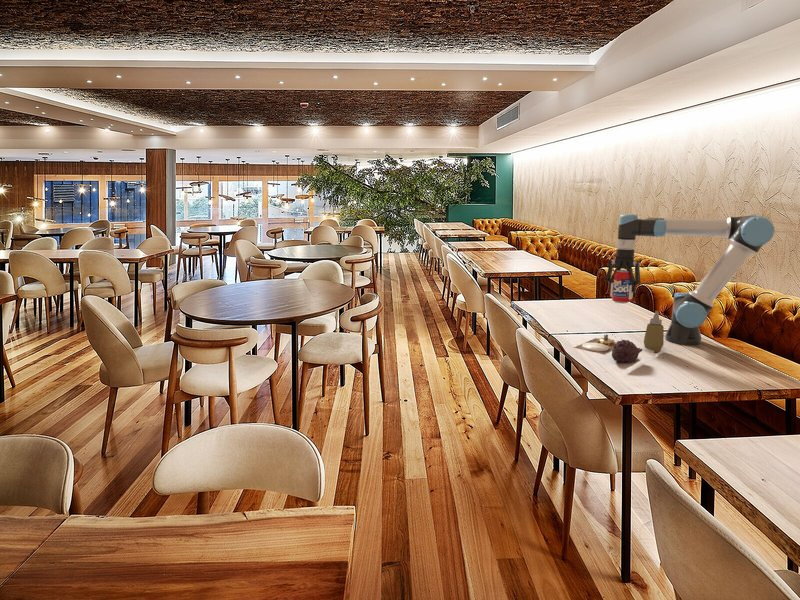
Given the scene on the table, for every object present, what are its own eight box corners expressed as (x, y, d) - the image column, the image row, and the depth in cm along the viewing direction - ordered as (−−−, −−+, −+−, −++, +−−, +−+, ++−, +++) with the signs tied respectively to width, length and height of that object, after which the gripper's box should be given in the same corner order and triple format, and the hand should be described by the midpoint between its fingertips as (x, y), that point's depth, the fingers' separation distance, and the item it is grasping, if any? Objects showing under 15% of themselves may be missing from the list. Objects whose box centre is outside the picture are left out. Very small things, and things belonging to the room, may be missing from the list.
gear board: (624, 347, 242) (625, 344, 242) (604, 357, 227) (604, 354, 227) (595, 341, 252) (595, 338, 252) (573, 350, 236) (573, 347, 236)
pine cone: (622, 371, 210) (624, 346, 208) (600, 364, 218) (602, 341, 216) (646, 363, 221) (649, 339, 219) (624, 356, 228) (626, 334, 226)
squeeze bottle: (664, 354, 232) (669, 314, 229) (645, 353, 234) (649, 313, 230) (659, 349, 240) (664, 310, 236) (640, 347, 242) (644, 309, 238)
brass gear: (617, 343, 243) (617, 334, 243) (610, 346, 238) (610, 337, 237) (600, 339, 249) (601, 331, 248) (593, 343, 243) (594, 334, 242)
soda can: (626, 300, 252) (629, 269, 249) (632, 304, 245) (635, 271, 242) (609, 300, 253) (612, 268, 250) (614, 303, 245) (617, 271, 242)
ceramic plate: (612, 347, 236) (612, 346, 236) (602, 353, 228) (602, 351, 228) (588, 342, 244) (589, 341, 243) (577, 347, 236) (577, 346, 236)
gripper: (600, 247, 248) (596, 295, 253) (645, 251, 234) (640, 302, 239) (606, 246, 254) (603, 293, 258) (652, 249, 239) (647, 299, 244)
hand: (621, 297), depth 248 cm, fingers closed on soda can, 8 cm apart
